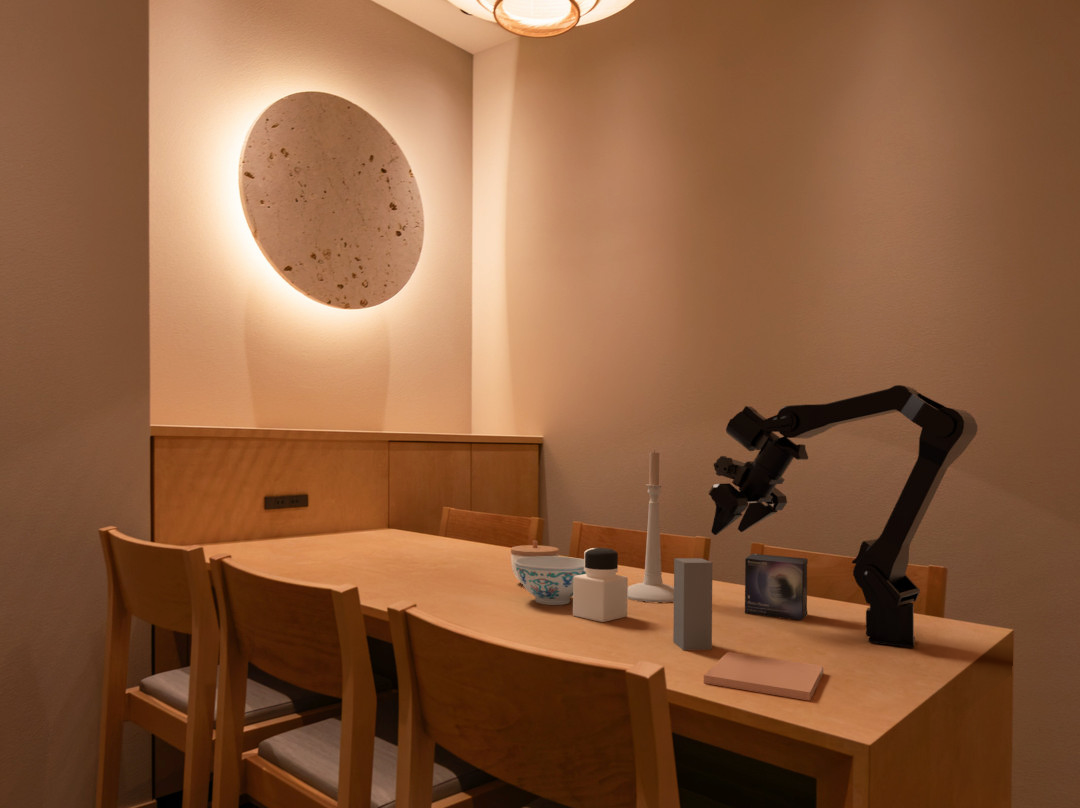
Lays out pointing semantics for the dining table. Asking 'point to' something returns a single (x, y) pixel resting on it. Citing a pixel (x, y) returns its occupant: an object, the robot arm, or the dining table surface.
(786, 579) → the small box
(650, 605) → the dining table surface
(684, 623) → the grey block
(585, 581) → the medicine bottle
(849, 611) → the dining table surface
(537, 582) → the chinaware
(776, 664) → the terracotta tile
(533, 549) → the lidded jar
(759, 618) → the dining table surface
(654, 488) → the candlestick
